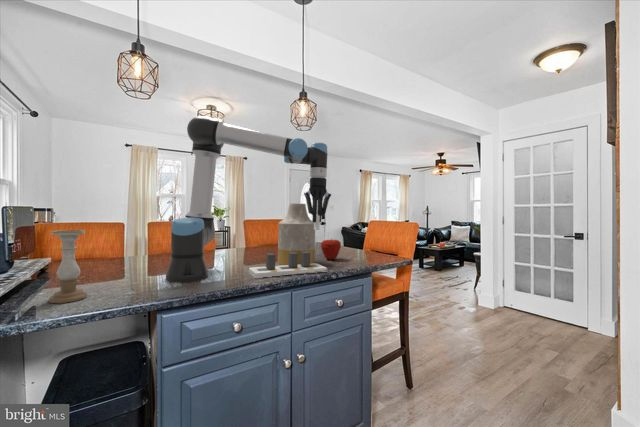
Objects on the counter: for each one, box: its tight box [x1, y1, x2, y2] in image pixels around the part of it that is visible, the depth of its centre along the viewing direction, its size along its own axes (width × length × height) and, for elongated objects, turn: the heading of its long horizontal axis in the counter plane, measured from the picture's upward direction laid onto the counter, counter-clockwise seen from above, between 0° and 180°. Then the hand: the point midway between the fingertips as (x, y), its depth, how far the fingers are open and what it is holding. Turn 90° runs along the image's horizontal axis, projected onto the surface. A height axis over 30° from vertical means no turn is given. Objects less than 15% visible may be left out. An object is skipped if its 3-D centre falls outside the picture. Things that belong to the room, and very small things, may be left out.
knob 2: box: [288, 252, 298, 268], centre depth 130 cm, size 3×4×6 cm
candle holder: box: [48, 229, 88, 304], centre depth 88 cm, size 9×9×20 cm
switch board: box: [248, 262, 328, 279], centre depth 130 cm, size 32×12×2 cm, turn 115°
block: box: [265, 252, 276, 269], centre depth 126 cm, size 3×4×6 cm
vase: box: [277, 202, 316, 266], centre depth 149 cm, size 18×18×30 cm
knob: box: [301, 252, 310, 267], centre depth 133 cm, size 3×4×6 cm
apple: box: [320, 238, 342, 260], centre depth 163 cm, size 11×11×12 cm
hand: (316, 229), depth 135 cm, fingers closed
